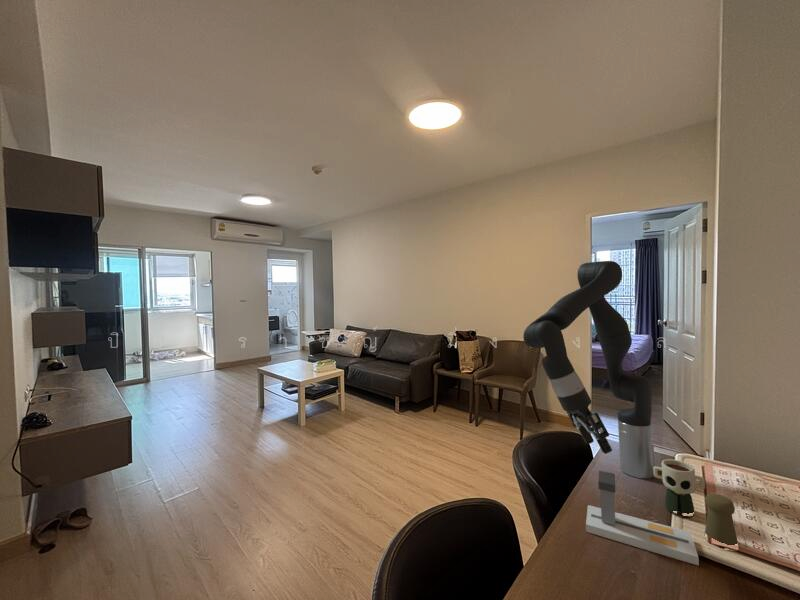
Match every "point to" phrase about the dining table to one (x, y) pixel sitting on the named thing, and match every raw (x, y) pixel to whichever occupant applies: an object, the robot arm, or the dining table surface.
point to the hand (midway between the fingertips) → (598, 447)
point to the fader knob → (607, 496)
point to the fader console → (644, 535)
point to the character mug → (679, 484)
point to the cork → (720, 519)
